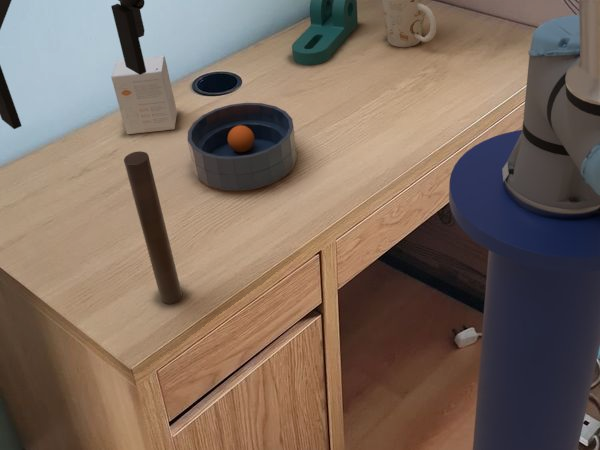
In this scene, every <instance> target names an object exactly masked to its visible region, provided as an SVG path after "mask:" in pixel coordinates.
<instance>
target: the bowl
mask: <svg viewBox="0 0 600 450" xmlns="http://www.w3.org/2000/svg"><path fill="white" fill-rule="evenodd" d="M240 125H241V126H246V127H248V128H249V129H250V130H251V131H252V132H253V134H254V144H253V146H252V148H251V149H250V150H248V151H246V152H236V151H234V150H233V149H232V148H231V147H230V146H229V144H228V134H229V132H230V131H231V129H232V128H234V127H236V126H240ZM187 145H188V150H189V154H190V159H191V160H190V161H191V163H192V169H193V172H194V174H195V176H196V177H197V179H198V180H199V181H201V182H202V183H204V184H205V185H206V186H208V187H211V188H214V189H218V190H221V191H230V192H231V191H233V192H234V191H235V192H241V191H243V192H244V191H250V190H257V189H260V188H263V187H266V186H269V185H272V184H274V183H275V182H277V181H279V180H281V179H283V178H284V177H286V176H287V175H288V173H290V172H291V171H292V170H293V169H294V167H295V164H296V162H297V159H298V156H297V154H298V153H297V145H296V136H295V129H294V121H293V118H292V116H291V115H289V113H288V112H287V111H286V110H284V109H281V108H280V107H278V106H276V105H272V104H267V103H263V102H242V103H241V102H240V103H233V104H232V103H231V104H228V105H224V106H221V107H217V108H215V109H212V110H210V111H208V112H206V113H204V114H202V115H201V116H199V118H197V119H196V120H195V121H193V122H192V124H191V126H190V127H189V128H188V131H187Z"/></svg>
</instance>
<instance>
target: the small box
mask: <svg viewBox="0 0 600 450" xmlns="http://www.w3.org/2000/svg"><path fill="white" fill-rule="evenodd" d="M143 59H144V64H145V68H146V72H145V73H143V74H141V75H139V74H138V73H136V72H134V71H132V70H131V69H129V68H127V67H126V65H125V61H124V59H120V60H116V61H115V64H114V67H113V70H112V72H111V73H112V74H111V77H110V78H111V82H112V85H113V89H114V92H115V96H116V101H117V104H118V107H119V112H120V115H121V119H122V123H123V126H124V130H125V133H126V135H135V134H142V133H143V134H145V133H153V132H162V131H170V130H175V129H176V122H177V116H178V110H177V105H176V100H175V96H174V92H173V91H174V90H173V88H172V83H171V77H170V74H169V69H168V65H167V61H166V60H167V59H166V57H165V55H157V56H148V57H143Z"/></svg>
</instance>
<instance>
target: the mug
mask: <svg viewBox="0 0 600 450" xmlns="http://www.w3.org/2000/svg"><path fill="white" fill-rule="evenodd" d="M427 1H428V0H381V4H382V11H383V17H384V25H385V31H386V37H387V38H386V39H387V42H388V44H390V45H391V46H393V47H397V48H410V47H414V46H416V45H418V44H419V43H421V42H422V43H427V42H429V41H431V40H433V39H434V38H435V35H436V33H437V21H436V18H435V15H434V13H433V11H432V10H431V8H429V6H427ZM425 16H426V17H427V19H428V21H429V27H430V28H429V32H428V33H427V34H426V35H425V36H422V35H423V30H424V29H423V28H424V21H425Z"/></svg>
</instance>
